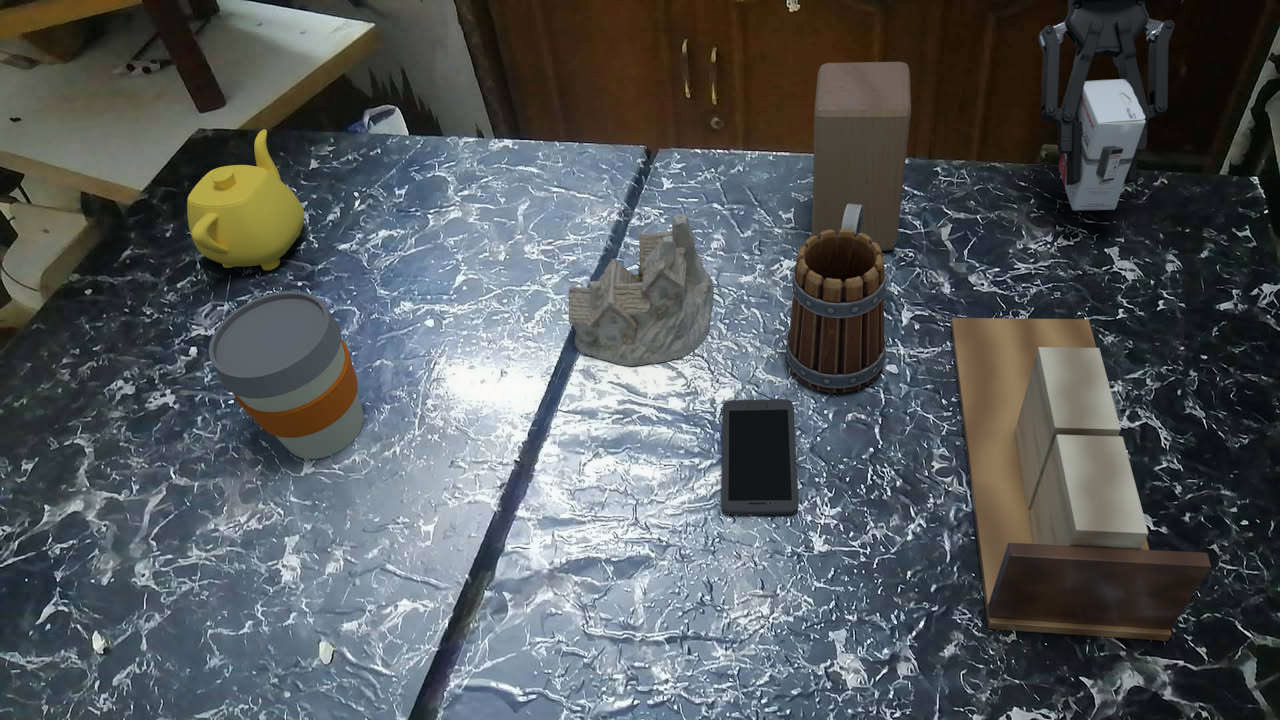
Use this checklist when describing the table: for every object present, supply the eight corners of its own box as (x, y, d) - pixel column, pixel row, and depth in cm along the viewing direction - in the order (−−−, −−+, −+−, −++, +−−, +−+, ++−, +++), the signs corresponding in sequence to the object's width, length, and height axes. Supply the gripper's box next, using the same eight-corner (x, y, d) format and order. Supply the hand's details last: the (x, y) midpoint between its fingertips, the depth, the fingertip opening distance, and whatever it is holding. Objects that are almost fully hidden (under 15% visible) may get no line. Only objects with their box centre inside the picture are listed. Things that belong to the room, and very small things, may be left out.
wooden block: (895, 202, 117) (910, 57, 103) (896, 254, 111) (912, 108, 96) (815, 200, 119) (818, 59, 105) (811, 252, 113) (814, 108, 98)
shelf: (1086, 326, 99) (1117, 231, 90) (1167, 641, 76) (1222, 557, 66) (950, 325, 102) (966, 232, 92) (987, 629, 78) (1015, 546, 68)
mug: (877, 404, 96) (887, 299, 85) (776, 387, 99) (774, 284, 88) (898, 301, 105) (910, 195, 94) (805, 289, 108) (807, 185, 98)
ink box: (1055, 166, 111) (1079, 78, 102) (1099, 165, 110) (1126, 76, 101) (1071, 212, 105) (1097, 122, 96) (1117, 211, 104) (1148, 120, 96)
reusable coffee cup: (264, 406, 106) (204, 312, 95) (371, 370, 108) (324, 274, 97) (272, 488, 98) (207, 397, 87) (388, 448, 100) (339, 353, 89)
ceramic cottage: (727, 273, 112) (710, 173, 101) (696, 377, 102) (673, 279, 91) (606, 267, 116) (577, 171, 106) (565, 366, 107) (528, 272, 96)
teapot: (339, 201, 132) (305, 126, 123) (273, 297, 119) (231, 222, 110) (256, 197, 135) (218, 124, 126) (184, 291, 122) (135, 217, 113)
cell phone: (793, 402, 97) (793, 397, 96) (799, 515, 88) (799, 511, 87) (722, 404, 98) (722, 399, 97) (721, 515, 89) (720, 511, 88)
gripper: (1182, -24, 103) (1176, 186, 104) (1012, -15, 107) (1007, 188, 108) (1211, -51, 96) (1204, 175, 97) (1027, -40, 99) (1021, 179, 100)
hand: (1100, 182), depth 102 cm, fingers closed on ink box, 5 cm apart
